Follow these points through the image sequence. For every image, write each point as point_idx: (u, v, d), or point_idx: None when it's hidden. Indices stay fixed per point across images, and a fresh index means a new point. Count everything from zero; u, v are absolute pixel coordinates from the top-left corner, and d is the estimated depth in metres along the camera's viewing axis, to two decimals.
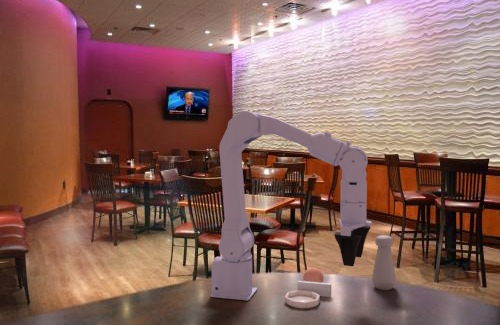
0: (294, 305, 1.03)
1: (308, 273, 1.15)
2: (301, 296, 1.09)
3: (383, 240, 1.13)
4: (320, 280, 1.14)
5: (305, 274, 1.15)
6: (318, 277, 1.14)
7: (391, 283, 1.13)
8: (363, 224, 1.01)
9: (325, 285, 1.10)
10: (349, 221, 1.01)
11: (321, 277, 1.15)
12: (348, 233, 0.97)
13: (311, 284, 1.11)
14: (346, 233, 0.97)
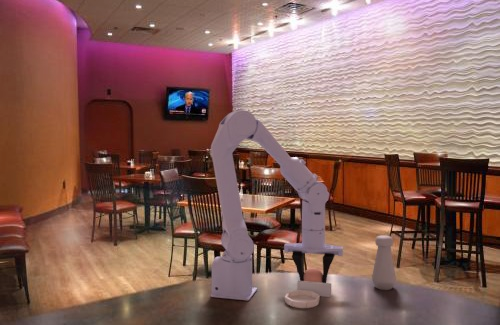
0: (294, 305, 1.03)
1: (308, 273, 1.15)
2: (301, 296, 1.09)
3: (383, 240, 1.13)
4: (320, 280, 1.14)
5: (305, 274, 1.15)
6: (318, 277, 1.14)
7: (391, 283, 1.13)
8: (304, 249, 1.14)
9: (325, 285, 1.10)
10: None
11: (321, 277, 1.15)
12: None
13: (311, 284, 1.11)
14: None
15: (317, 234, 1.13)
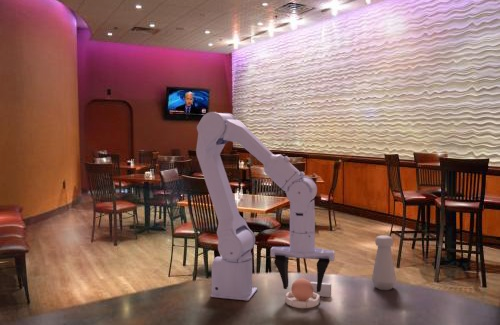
0: (294, 305, 1.03)
1: (296, 285, 1.05)
2: None
3: (383, 240, 1.13)
4: (309, 292, 1.05)
5: (293, 286, 1.06)
6: (307, 289, 1.04)
7: (391, 283, 1.13)
8: (292, 253, 1.04)
9: (325, 285, 1.10)
10: None
11: (310, 289, 1.05)
12: None
13: None
14: None
15: (306, 237, 1.03)
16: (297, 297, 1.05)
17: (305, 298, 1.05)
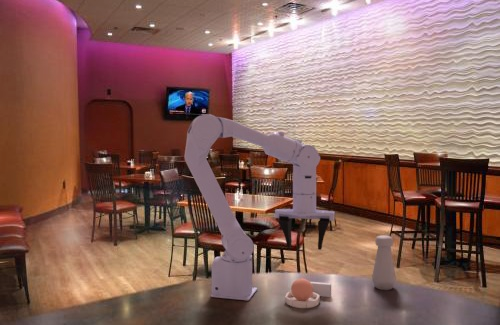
0: (294, 305, 1.03)
1: (296, 285, 1.05)
2: None
3: (383, 240, 1.13)
4: (309, 292, 1.05)
5: (293, 286, 1.06)
6: (307, 289, 1.04)
7: (391, 283, 1.13)
8: (295, 213, 1.12)
9: (325, 285, 1.10)
10: None
11: (310, 289, 1.05)
12: None
13: None
14: None
15: (308, 198, 1.11)
16: (297, 297, 1.05)
17: (305, 298, 1.05)
